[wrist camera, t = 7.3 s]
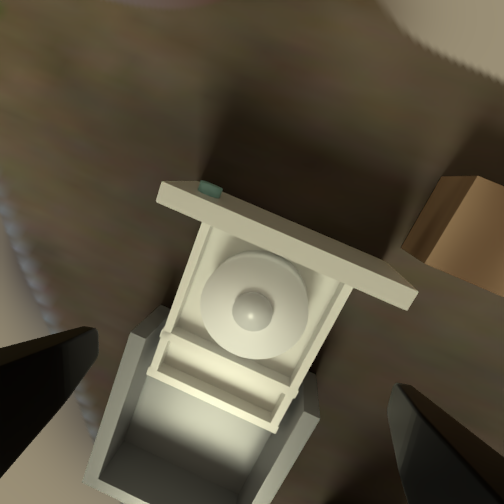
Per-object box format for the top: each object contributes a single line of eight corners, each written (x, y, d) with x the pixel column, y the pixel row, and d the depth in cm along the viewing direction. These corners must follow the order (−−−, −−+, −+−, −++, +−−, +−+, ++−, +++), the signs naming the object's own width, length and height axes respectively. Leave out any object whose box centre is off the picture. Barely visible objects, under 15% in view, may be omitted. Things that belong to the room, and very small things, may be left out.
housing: (315, 374, 21) (320, 418, 17) (247, 498, 24) (237, 558, 20) (160, 304, 21) (130, 332, 17) (115, 435, 25) (81, 482, 21)
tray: (390, 254, 18) (424, 281, 13) (298, 417, 21) (298, 486, 16) (200, 173, 18) (165, 170, 13) (141, 345, 22) (97, 391, 17)
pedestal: (517, 207, 17) (574, 215, 13) (471, 277, 18) (512, 300, 14) (441, 176, 17) (477, 175, 13) (400, 247, 18) (424, 263, 15)
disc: (325, 275, 17) (328, 288, 15) (282, 358, 19) (280, 379, 17) (230, 233, 17) (221, 240, 15) (196, 318, 19) (183, 334, 17)
